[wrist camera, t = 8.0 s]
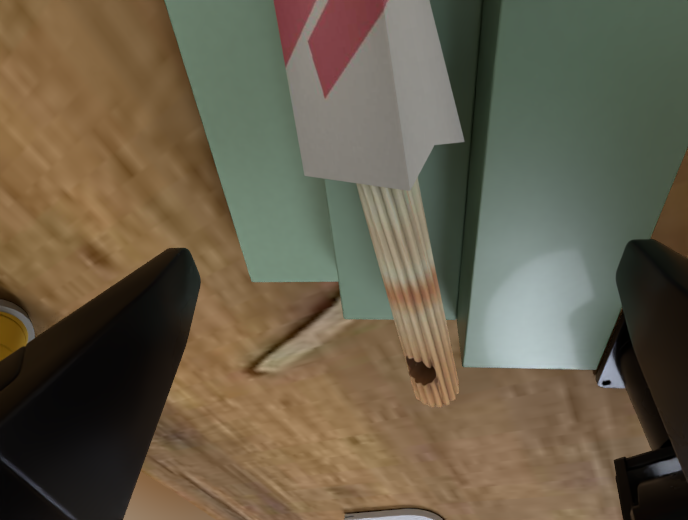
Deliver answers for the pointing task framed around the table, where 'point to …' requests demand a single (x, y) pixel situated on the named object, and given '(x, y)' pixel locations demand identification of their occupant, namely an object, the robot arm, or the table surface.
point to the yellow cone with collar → (13, 328)
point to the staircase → (470, 165)
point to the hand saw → (394, 515)
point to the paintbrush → (380, 147)
